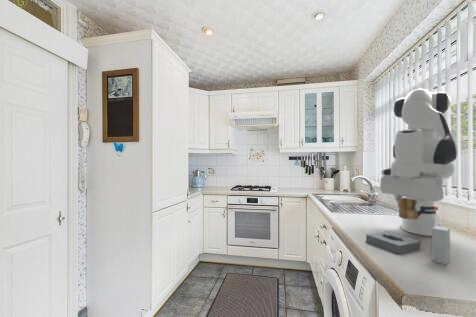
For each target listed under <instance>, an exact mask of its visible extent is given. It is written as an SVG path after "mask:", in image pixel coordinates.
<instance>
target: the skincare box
mask: <svg viewBox="0 0 476 317" xmlns="http://www.w3.org/2000/svg"><path fill="white" fill-rule="evenodd" d="M450 236H451V228H450V227H445V226H443V227H441V226H434V227H433V228H432V236H431V260H432V261H434V262H437V263H441V264H446V265H447V264H448V263H449V261H450V260H451V255H450V254H451V249H450V248H451V246H450V245H451V237H450Z"/></svg>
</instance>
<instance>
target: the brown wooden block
mask: <svg viewBox="0 0 476 317" xmlns="http://www.w3.org/2000/svg"><path fill="white" fill-rule="evenodd" d="M417 202H418V201H416V199H413V198H411V199H410V198H407V197H402V198H399V207H398V217H399V218H400V219H402V220H403V219H410V220H411V219H418V211H415V210H413V205H416V203H417Z"/></svg>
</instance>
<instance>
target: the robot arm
mask: <svg viewBox="0 0 476 317" xmlns="http://www.w3.org/2000/svg"><path fill="white" fill-rule="evenodd" d="M451 103H452V102H451V97H450V96H449V94H448V93H447V92H446V91H437V92H430V91H429V90H427V89H425V88H424V89H423V88H418V89H417V88H416V89H414V90H412V91H410V92H409V93H408V94H407V95H406V96H405V97H400V98H398V99H396V100H395V102H394V103H393V107H392V111H393V113H394V116H395V117H397V118H401V119H402V121H403V122H404V123H405V124H407V125H408V126H407V129H406V128H405V129H401V130H398V131H397V132H396V136H395V140H394V145H393V147H392V157H393V158H394V160H393V161H392V162H391V167H388V168H385V169H382V170H381V175H382V176H381V178H380V184H379V186H380V187H379V188H380V191H381V193H382V194H388V195H393V196H394V200H395V201H396V202H397V207H398V208H399V198H403V197H404V198H410V199H411V198H413V199H416V201H418V202H417V203H416V205H413V210H415V211H418V219H411V220H410V219H403V218H402V221H401V224H399V227H400V228H401V229H402V230H403V231H406V232H408V233H411V234H415V235H421V236H427V237H432V228H433V227H434V226H441V227H444V221H443V219H442V218H440V216H438V215H437V211H438V210H439V207H438V206H437V205H435V202H440V201H442V200H444V189H443V180H446V179H450V178H451V176H453V174H454V173H455V165H454V164H453V162H454V161H455V160H457V157H458V152H459V150H458V146H457V144H456V141H455V140H454V138H453V136H452V134H451V130H450V128H449V124H448V122H447V119H446V117H445V115H444V113H446V111H448V109H449V108H450V105H451ZM435 136H436V137H435Z"/></svg>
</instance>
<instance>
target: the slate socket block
mask: <svg viewBox="0 0 476 317" xmlns="http://www.w3.org/2000/svg"><path fill="white" fill-rule="evenodd" d="M365 238H366V239H365V241H366V243H369V244H371V245H374V246H377V247H379V248H382V249H385V250H388V251H390V252H393V253H395V252H396V253H395V254H399V255H401V253H402V254H405V252H406V253H408V252H409V251H410V252H414V251H418V250H421V241H420V240H418V239H413V238H411V237H407V236H403V235H401V234H397V233H394V232H391V231H387V230H384V231H381V232H380V231H379V232H374V233H369V234H366V236H365ZM410 252H409V253H410Z"/></svg>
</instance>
